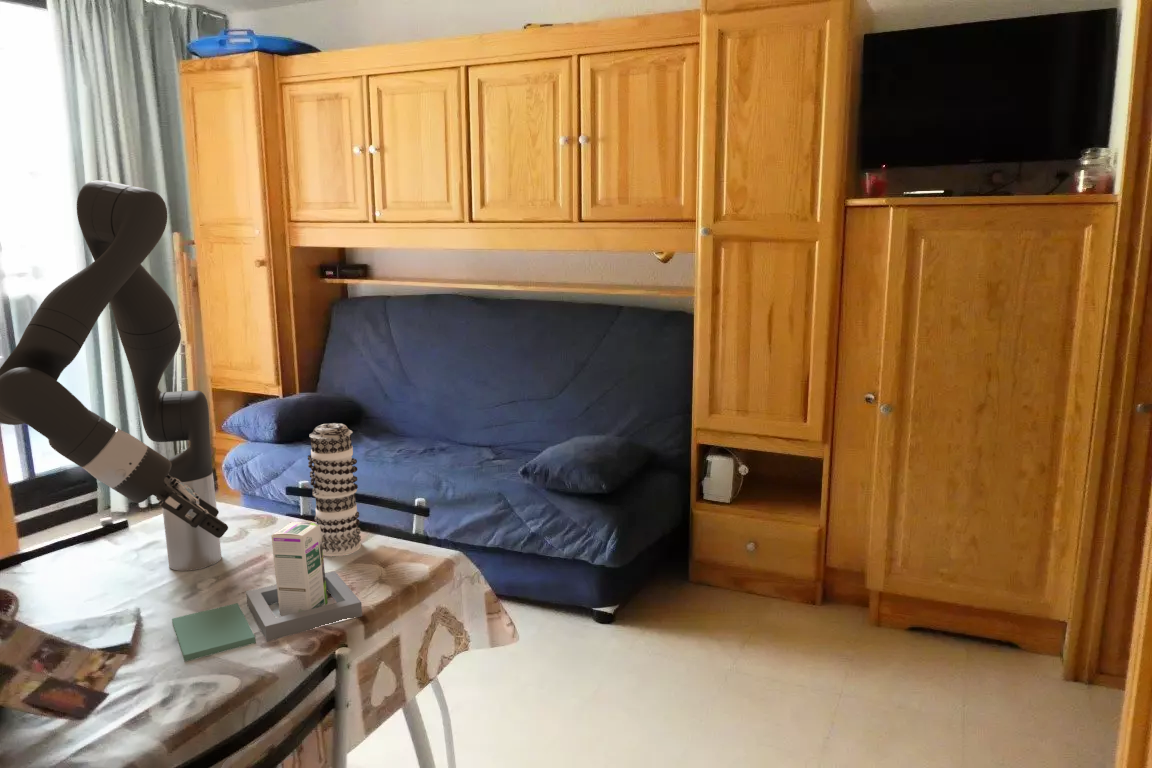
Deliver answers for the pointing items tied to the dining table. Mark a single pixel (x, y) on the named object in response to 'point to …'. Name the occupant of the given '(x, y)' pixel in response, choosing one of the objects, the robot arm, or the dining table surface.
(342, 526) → the decorative candle
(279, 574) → the syrup box
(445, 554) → the dining table surface
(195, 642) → the pad
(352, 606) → the pocket board
